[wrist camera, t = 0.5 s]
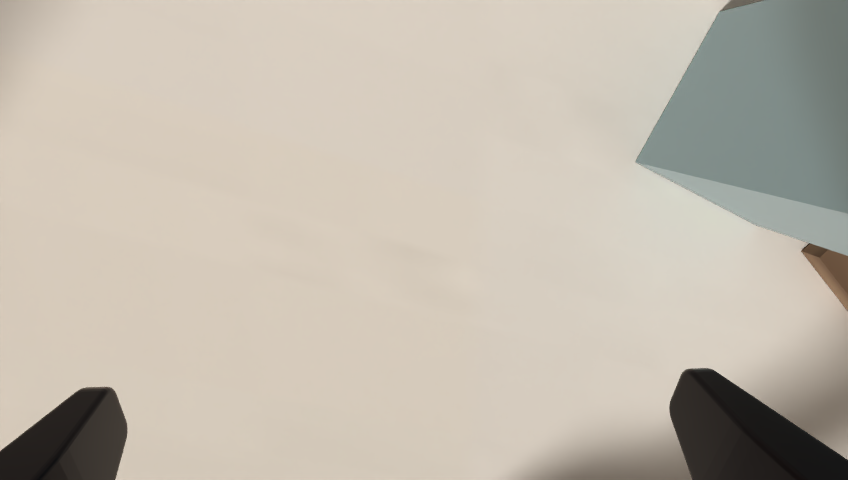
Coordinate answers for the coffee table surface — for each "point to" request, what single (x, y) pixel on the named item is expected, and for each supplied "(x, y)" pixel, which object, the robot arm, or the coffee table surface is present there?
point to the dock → (830, 269)
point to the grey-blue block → (765, 120)
